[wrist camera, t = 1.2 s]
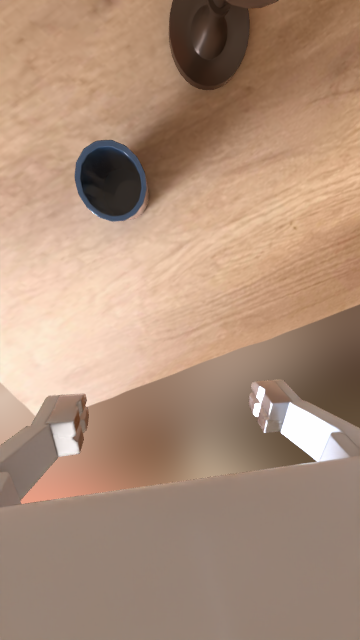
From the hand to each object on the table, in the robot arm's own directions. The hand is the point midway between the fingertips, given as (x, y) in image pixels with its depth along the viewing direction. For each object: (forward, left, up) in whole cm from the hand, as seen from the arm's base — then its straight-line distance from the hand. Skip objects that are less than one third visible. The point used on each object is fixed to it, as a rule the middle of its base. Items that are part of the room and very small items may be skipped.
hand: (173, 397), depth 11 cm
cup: (-1, -12, -28) cm, 30 cm away
